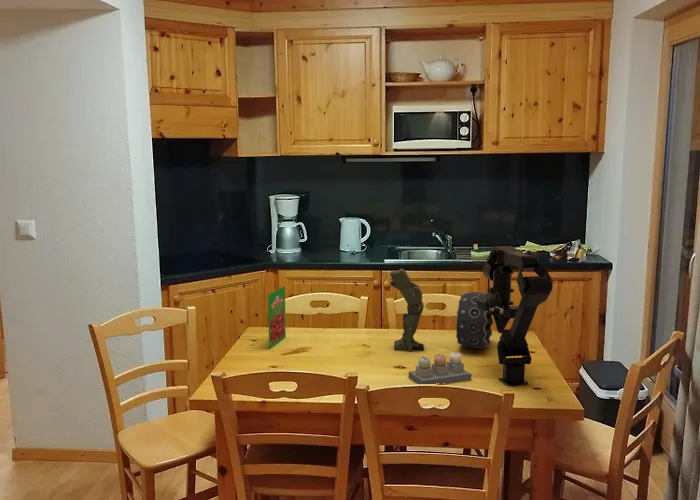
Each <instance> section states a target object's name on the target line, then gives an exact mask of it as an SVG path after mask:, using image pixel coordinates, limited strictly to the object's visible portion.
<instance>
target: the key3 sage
mask: <svg viewBox="0 0 700 500" xmlns="http://www.w3.org/2000/svg"><path fill="white" fill-rule="evenodd" d="M417 366H419V367H421V368H423V369H424V368H429V367H431V357H430V356H419V357H418V365H417Z"/></svg>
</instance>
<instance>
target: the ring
mask: <svg viewBox="0 0 700 500" xmlns="http://www.w3.org/2000/svg"><path fill="white" fill-rule="evenodd" d="M485 294H486V293H484V292H480V291H479V292H478V291H473V292H469V291H468V292H466V293H464V294H461V295H460V298H459V300H458V305H457V311H456V322H455V328H456V334H455V337H456V340H457V344H459V345H461V346H462V347H463V348H468V349H473V350H480V349H485V348H487V347H490V344H491V339H490V338H491V337H492V335H493V331H492V328H491V327H492V326H493V324H494V318H493V315H492V314H491V313H490V312H488V311H483V310H482V309H478V306H477V303H476V299H477V298H479V297H481V296H483V295H485Z"/></svg>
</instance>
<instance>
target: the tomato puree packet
mask: <svg viewBox="0 0 700 500" xmlns="http://www.w3.org/2000/svg"><path fill="white" fill-rule="evenodd" d="M267 304H268V306H267V308H268V309H267V313H268V350H271V349H273V348H274V347H276V345H279V344H280V342H282V341H283V340H285V339H286V338H287V337H286V336H287V335H286V286H285V285H283V286H282V287H280V288H278V289H276V290H274V291H273V292H270V293H269V294H267Z"/></svg>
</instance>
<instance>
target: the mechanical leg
mask: <svg viewBox="0 0 700 500" xmlns="http://www.w3.org/2000/svg"><path fill="white" fill-rule="evenodd" d="M389 276H390V278H391V279H392V281H390V286H391V287H392V288H394V289H396V290H398V291H399V292H400V294H401V296H402V297H403V299H404V301H405V302H406V303H407V306H406V309H407V313H404V314H403V315H402V329H403V332H402V337H400V339H397V340H394V342H393V349H394V351H400V352H401V351H405V352H408V351H409V352H425V346H424V343H421V342H419V341H416V340H415V338H414V336H415V334H416V332H417V329H418V327H419V322H420V319H421V316H422V314H423V311H424V306H425V304H424V302H423V292H422V290H421V287H420V286H419V284H417V283H415V282H413V281H411V280H412V279H410V277H409V274H408V273H407V271H406V270H405V269H404V268H400V269H399V270H391V271H390V272H389Z"/></svg>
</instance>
